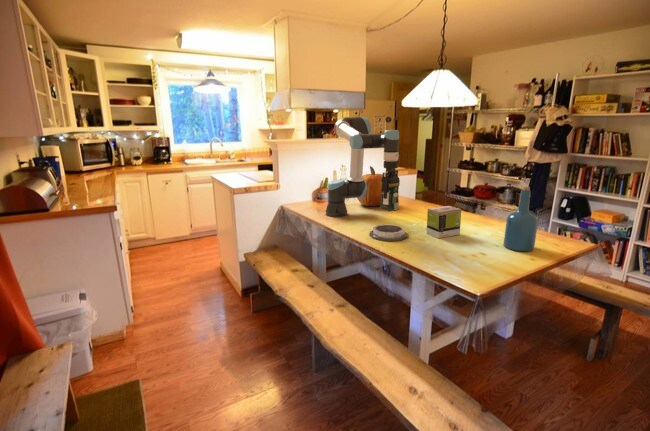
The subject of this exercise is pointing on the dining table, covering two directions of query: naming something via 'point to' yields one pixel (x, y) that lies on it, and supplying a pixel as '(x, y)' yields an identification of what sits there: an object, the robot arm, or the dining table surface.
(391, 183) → the coffee jar
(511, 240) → the wine bottle
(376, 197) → the pumpkin
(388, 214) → the dining table surface
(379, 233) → the ring collar
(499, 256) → the dining table surface
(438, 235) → the tea box
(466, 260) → the dining table surface
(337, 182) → the robot arm
